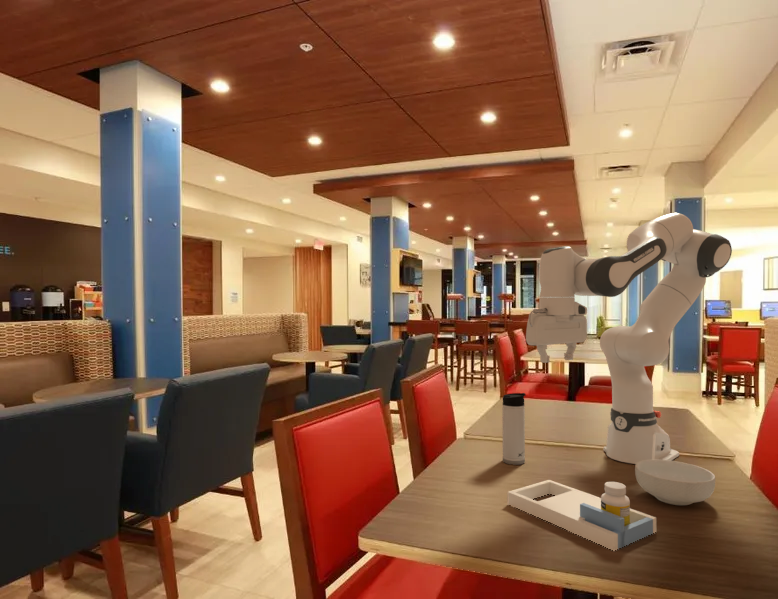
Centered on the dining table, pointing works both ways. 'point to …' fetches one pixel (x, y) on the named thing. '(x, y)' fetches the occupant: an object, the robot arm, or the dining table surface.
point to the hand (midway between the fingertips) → (557, 361)
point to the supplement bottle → (616, 501)
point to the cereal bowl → (675, 481)
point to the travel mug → (514, 428)
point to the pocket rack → (581, 514)
